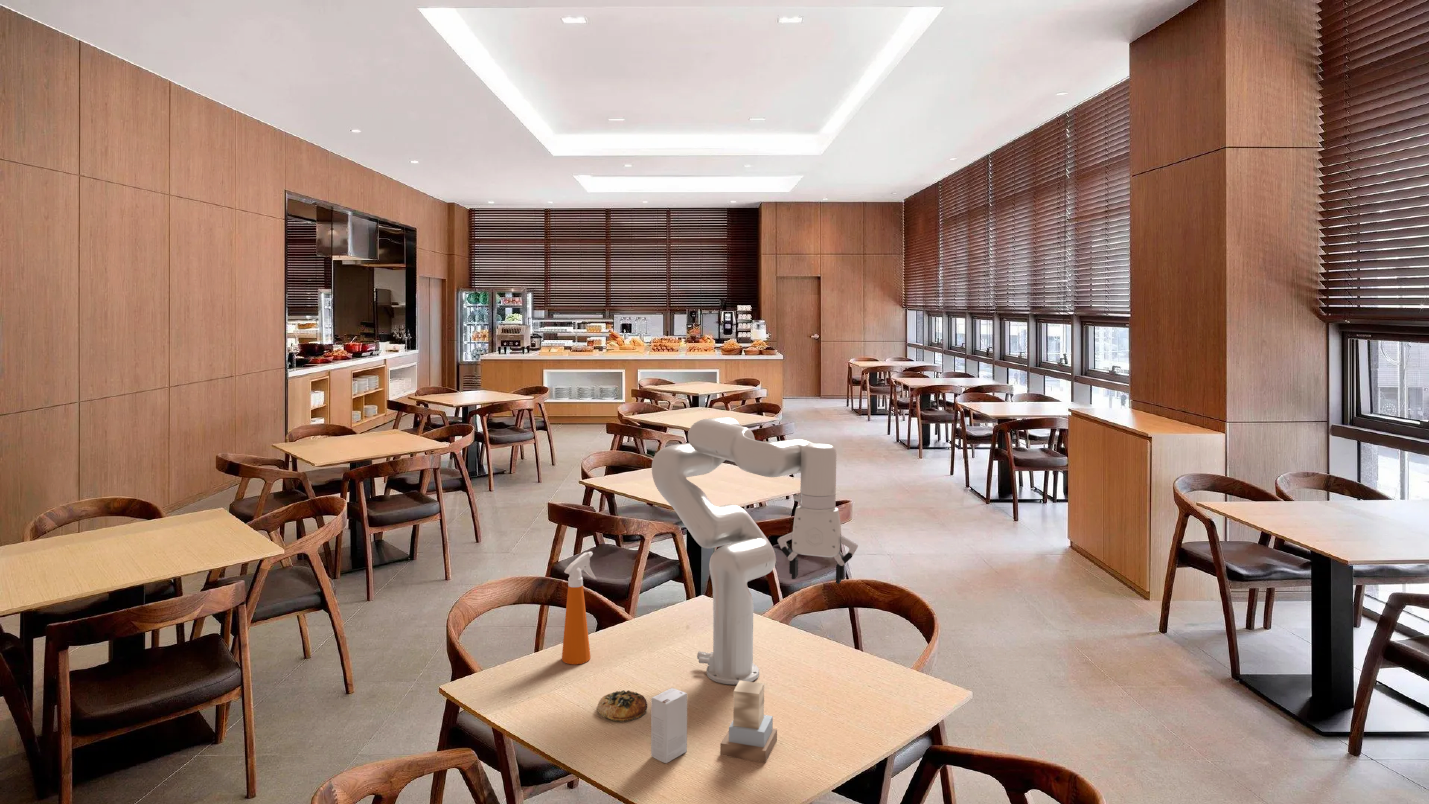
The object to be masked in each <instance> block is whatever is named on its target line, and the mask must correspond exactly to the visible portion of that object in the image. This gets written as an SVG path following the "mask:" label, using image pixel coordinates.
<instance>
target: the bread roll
mask: <svg viewBox="0 0 1429 804" xmlns="http://www.w3.org/2000/svg"><path fill="white" fill-rule="evenodd" d="M596 709H597V711H598V714H599V715H600V717H602V718H605V719H609V720H611V721H612V722H620V723H622V722H628V721H629V722H630V721H633V720H636V719H638V718H641V717H642V716H643V715H645V714H646V713H647V710H648V702H647V699H646V697H645V696H644V695H642V694H640V693H638V692H637V691H635V692H634V691H631V690H623V689H622V690H621V691H620V690H616V691H613V692H611V693H608V694H605V695H603V696H602V697H600V699H599V701H598V703H597V708H596Z"/></svg>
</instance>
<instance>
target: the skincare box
mask: <svg viewBox="0 0 1429 804" xmlns="http://www.w3.org/2000/svg"><path fill="white" fill-rule="evenodd" d="M650 700H651V702H650V703H651V705H650V706H651V712H650V713H651V715H650V717H651V719H650V720H651V721H650V724H651V726H650V727H651V729H650V730H651V731H650V733H651V734H650V740H651V741H650V742H651V743H650V756H651V757H652V758H654V759H655V760H657V761H659V762H661V763H663V764H668V763H670V762H671V761H673V760H674V759H676V758H678V757H680V756H682V755H683V754H685V753H686V752H687V751H688V693H687V692H684V691H683V690H680V689H677V688H673V687H671V688H669V689H666V690H665V691H662V692H661V693H658V694H657V695H654V696H652V697H651V699H650Z"/></svg>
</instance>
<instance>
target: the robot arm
mask: <svg viewBox="0 0 1429 804" xmlns="http://www.w3.org/2000/svg"><path fill="white" fill-rule="evenodd" d="M687 440H688V442H687V443H686V442H685V443H678V444H672V445H668V446H666V447H663V448H661V449H660V450H658V451H657V452H656V453H655V454H654V456H653V459H652V461H651V474H652V475H651V476H652V480H653V482H654V485H655V487H656V489H657V491H658V492H659V493H660V495H661V496H662V497H663V498H664V500H665V501H666V503H668V504H669V505H670V507H672V509H673V510H674V512H675V513H676V515H677V516H678V517H679V519H680V520H681V522H682V524H683V525H684V526H685V528H686V530H688V532H689V533H690V535H691V537H692V538H693V539H694V541H695V542H696V543H697V544H698V545H699V546H700V547H702V548H703V549H713V548H717V547H718V548H717V549H715V550H714V552H713V553H712V554H711V556H710V558H709V574H710V579H711V585H712V586H711V587H712V603H713V604H712V605H713V606H712V610H713V621H712V624H713V628H712V629H713V631H712V633H713V635H712V637H713V638H712V639H713V640H712V641H713V642H712V643H713V645H712V649H713V650H712V651H710V652H706V651H698V652H697V654H696V658H697V660H698V663H699V664H706V665H707V667H706V676H707V677H708V678H709V679H710V680H712V681H713V682H716V683H719V684H722V685H723V684H724V685H732V686H733V685H737V684H738V682H739V681H749V682H755V680H757V679H758V677H759V676H760V668H759V667H758V665H756V663H754V655H753V654H754V600H753V599H754V598H753V595H752V594H751V593H752V592H751V591H750V589H749V587H748V582H751V581H753V580H755V579H759V578H761V577H764V576H766V575H768V574H770V573H772V571H773V570H774V568H775V567H776V562H777V558H776V557H777V556H776V552H775V549H774V547H773V546H772V544H771V542H770V540H769V539H768V538H767V536H766V535H765V534H764V532H763V531H762V530H761V529H760V527H759V526H758V524H757V523H756V521H755V520H754V519H753V518H752V516H751V515H750V514H749V512H747V510H745V509H744V508H743V507H741V506H739V505H737V504H725V505H720V506H718V505H715V504H714V503H713V502H712V501H711V500H710V499H709V498H708V496H707V495H706V493H705V492H704V491H703V489H701V488H700V487H699V486H698V485H696V484H694V483H693V482H691V481H690V480H689V479H687V478H690V477H691V478H692V477H696V476H703V475H707V474H710V473H711V472H713V471H714V470H716V469H717V468H719V466H721V465H722V464H723V463H725V461H729V462H733V463H734V464H735V465H736V466H737V467H738V468H739V469H741V471H744V472H746V473H750V474H753V475H758V476H761V477H765V478H779V477H784V476H790V475H796V474H800V492H799V494H798V493H797V494H794V495H793V501H794V502H798V503H799V505H798V506H796V508H795V511H794V519H793V526H792V531H791V532H789V533H787V534H785V535H782V536H780V537H778V538H777V543H778V544H779V545H778V546H779V547H780V549H781V552H782V553H783V554H784V556H786V557H787V560H788V561H789V564H788V565H789V571H788V572H789V574H790V575H791V580H795V579H797V577H798V576H799V558H798V557H797V556H798V555H801V556H802V555H803V556H812V557H821V558H822V557H823V558H834V560H835V561H836V563H837V564H836V567H835V583H836V584H837V585H840V584H841V582H842V580H845V565H846V563H847V562H849V561H850V560H851V559H852V558H853V556H854V554H855V552H857V549H858V547H859V545H858V544H857V543H855V542H854V541H852V540H850V539H849V538H847V537H845V536H844V535H842V525H841V516H840V510H839V508H838V507H836V497H837V496H836V495H837V493H836V492H837V488H836V485H837V450H836V447H835V446H833V445H832V444H829V443H820V442H819V443H815V442H811V441H809V440H805V439H802V438H797V439H794V438H793V439H789V440H787V439H786V440H780V441H779V440H778V441H773V442H766V441H761V440H756V438H755V435H754V433H753V431H752V430H751V429H750V428H748V427H746V426H742V425H741V424H740V422H739V421H738V420H736V419H735V418H733V417H728V416H722V417H720V416H719V417H714V418H713V417H712V418H702V419H699V420H697V421H696V422H694V423H693V424H692V425H691V426H690V428H689V429H688V432H687ZM790 540H791V548H790V547H789V546H788V545H787V542H788V541H790ZM843 545H844V546H845V547H847V548H848V552H847V553H845V555H844V554H843V553H842V551H841V550H842V546H843Z"/></svg>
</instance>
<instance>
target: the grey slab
mask: <svg viewBox="0 0 1429 804" xmlns="http://www.w3.org/2000/svg"><path fill="white" fill-rule="evenodd" d="M773 717H774V716H773V715H768V714H764V718H763V721H762V723H761V725H760V727H759V729H753V728H746V727H738V726H733V720H732V721H731V723H730V725H729V726H728V731H729V742H733V743H739V744H745V745H751V746H758V747H765V745H766V743H767V741H768V739H769V737H770V735H771V733H772V731H773V729H774V728H773V722H774V721H773V720H774V719H773Z"/></svg>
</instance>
